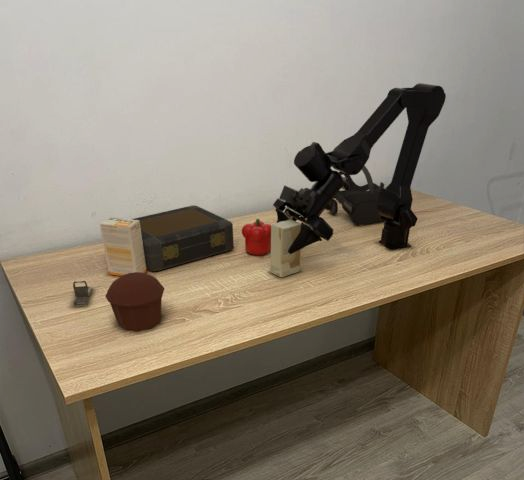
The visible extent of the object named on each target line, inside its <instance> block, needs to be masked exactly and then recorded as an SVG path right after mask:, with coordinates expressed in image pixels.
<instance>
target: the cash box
mask: <svg viewBox="0 0 524 480" xmlns="http://www.w3.org/2000/svg"><path fill="white" fill-rule="evenodd" d="M130 219H131V220H139V221H140V228H141V235H142V242H143V248H144V255H145V262H146V269H147V270H148V271H150V272H158V271H159V272H160V271H163V270H167V269H171V268H173V267H177V266H181V265H184V264H187V263H190V262H191V263H192V262H194V261H198V260H201V259H204V258H209V257H211V256H216V255H219V254H222V253H225V252H230V251H231V250H233V249H234V224H233V222H232V221H231V220H228V219H227V218H223V216H220V215H218V214H215V213H213V212H211V211H209V210H207V209H205V208H203V207H200V206H198V205H196V204H195V205H189V206H183V207H179V208H174V209H170V210H167V211H162V212H156V213H153V214H149V215H143V216H139V217H135V218H130Z"/></svg>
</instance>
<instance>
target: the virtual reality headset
mask: <svg viewBox="0 0 524 480" xmlns="http://www.w3.org/2000/svg"><path fill="white" fill-rule="evenodd" d="M361 171H362V173H363V174H364V177H365V180H366V184H363V185H358V184H356V182H355V181H354V180H353V178H352V175H349V174H346V173H343V172H341V171H338V172H339V173H340V175H341V176H343V177H346V178H348V179H349V188H350V190H349V191H346V190H344V189H342V190H339V192H338V193H337V194H336V195H335V197H334V198H333V199H332V201H331V202H330V203H329V206H330V207H331V208H330V209H329V211H328V212H329V213H330V215H336V214H337V213H338V209H339V205H338V202H339V204H340V205H341V207H342V210H343V211H344V212H345V213H346V214H347V215H348V216H349V217H350V218H351V220H352V222H353V223H354V224H355V225H356V226H368V225H377V224H384V222H385V221H383V220H381V219H380V214H379V212H378V210H377V203H376V202H377V200H378V198H379V193H380V190H381V188H385V183H383V182H382V181H381V182H380V183H379V185H378V184H377V183H375V182H374V181H373V178H372V174H371V173H370V171H369V169H368V167H366V164H365V165H364V167H363V168H362V170H361Z"/></svg>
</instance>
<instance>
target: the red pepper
mask: <svg viewBox="0 0 524 480" xmlns="http://www.w3.org/2000/svg"><path fill="white" fill-rule="evenodd" d="M241 236H243V238H244V247H245V248H244V249H245V251H246V252H247V253H248V254H249V255H252V256H255V257H256V256H264V255H267V254H268V253H269V252H271V223H265V222H264V221H262V220H260V218H256V219H255V221H254V222H253V223H246V224H244V225H243V226H242V228H241Z"/></svg>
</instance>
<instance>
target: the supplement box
mask: <svg viewBox="0 0 524 480" xmlns="http://www.w3.org/2000/svg"><path fill="white" fill-rule="evenodd" d="M131 219H132V218H130V219H129V218H122V217H121V218H120V217H112V216H110V217H108V218H106V219H104V220H103V221H101V222H100V223H99V227H100V232H101V239H102V243H103V248H104V255H105V259H106V265H107V269H108V274H109V275H111V276H117V277H121V276H123V275H125V274H128V273H134V272H141V273H145V274H146V272H148V271H147V270H148V269H147V268H146V262H145V255H144V248H143V242H142V235H141V228H140V221H139V220H131Z"/></svg>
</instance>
